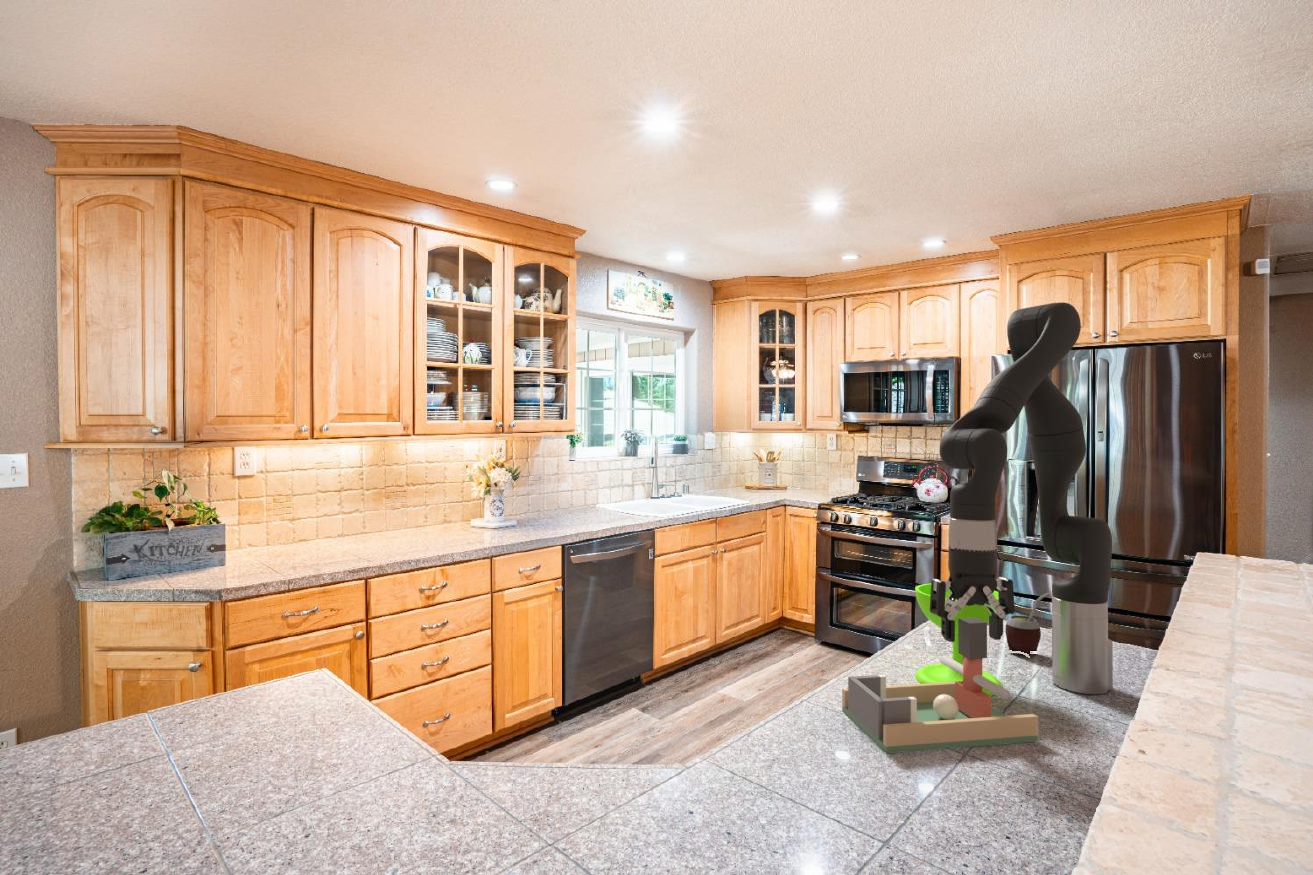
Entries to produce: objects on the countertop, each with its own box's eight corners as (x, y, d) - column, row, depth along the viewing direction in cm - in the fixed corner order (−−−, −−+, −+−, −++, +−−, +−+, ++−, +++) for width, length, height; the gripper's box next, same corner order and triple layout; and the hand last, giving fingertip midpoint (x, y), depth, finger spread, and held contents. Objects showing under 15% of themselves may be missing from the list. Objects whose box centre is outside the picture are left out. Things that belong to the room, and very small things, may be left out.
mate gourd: (1000, 648, 152) (1000, 583, 152) (1036, 649, 151) (1035, 584, 151) (1014, 659, 145) (1014, 591, 145) (1052, 660, 144) (1051, 591, 144)
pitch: (975, 701, 121) (975, 664, 121) (1038, 741, 105) (1037, 697, 105) (842, 710, 117) (842, 671, 117) (886, 753, 102) (886, 707, 102)
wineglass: (922, 693, 126) (922, 599, 126) (909, 665, 141) (909, 581, 141) (1014, 700, 122) (1013, 603, 122) (990, 670, 138) (990, 584, 138)
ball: (949, 712, 114) (949, 690, 114) (963, 722, 110) (963, 698, 110) (928, 714, 113) (928, 691, 113) (941, 724, 109) (941, 700, 109)
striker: (952, 695, 121) (951, 607, 121) (1015, 736, 104) (1014, 634, 104) (935, 696, 121) (935, 608, 121) (996, 737, 104) (996, 635, 104)
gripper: (995, 541, 117) (995, 631, 117) (921, 542, 115) (921, 634, 115) (1025, 547, 110) (1025, 644, 110) (946, 549, 108) (946, 648, 108)
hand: (972, 639), depth 112 cm, fingers open, 8 cm apart
